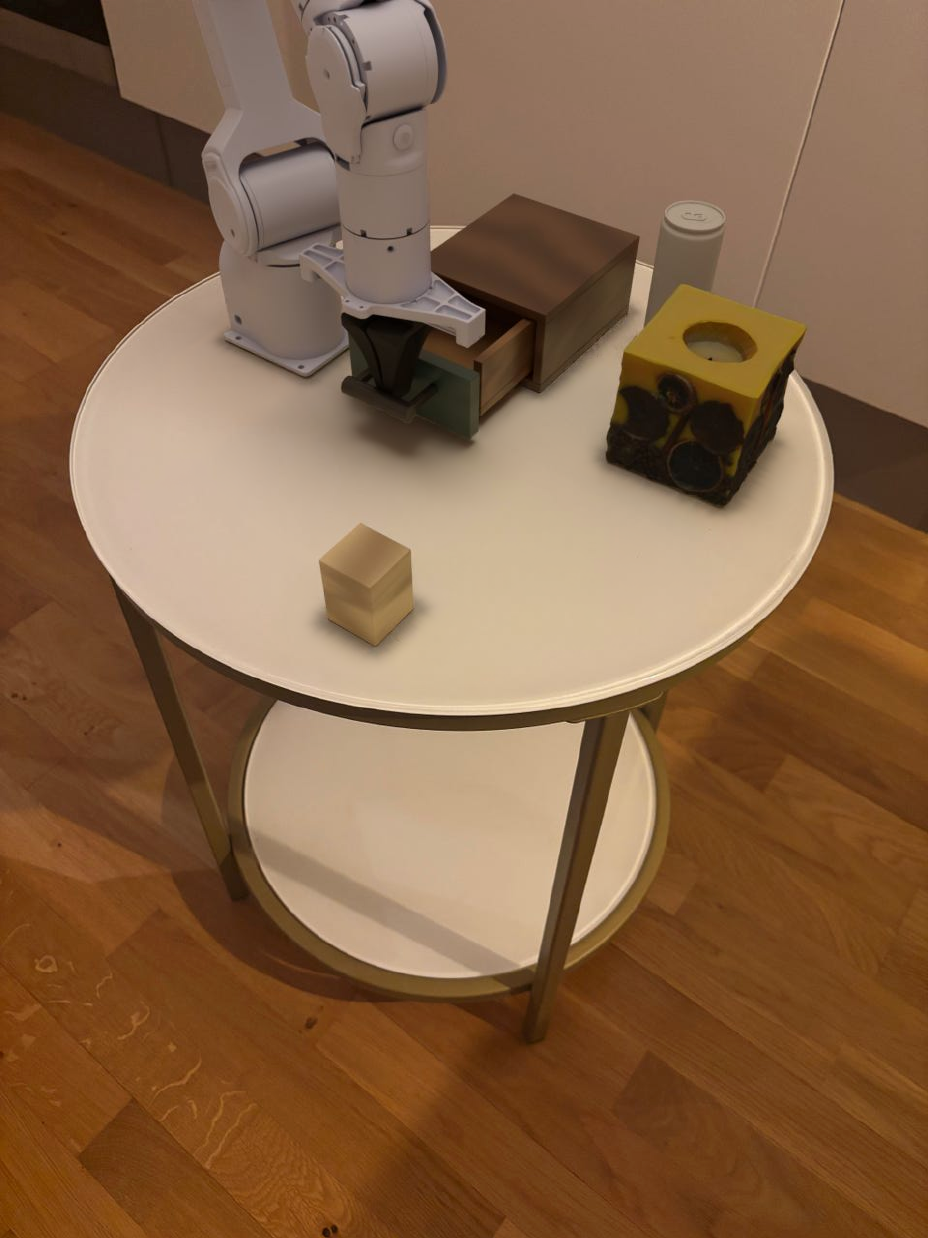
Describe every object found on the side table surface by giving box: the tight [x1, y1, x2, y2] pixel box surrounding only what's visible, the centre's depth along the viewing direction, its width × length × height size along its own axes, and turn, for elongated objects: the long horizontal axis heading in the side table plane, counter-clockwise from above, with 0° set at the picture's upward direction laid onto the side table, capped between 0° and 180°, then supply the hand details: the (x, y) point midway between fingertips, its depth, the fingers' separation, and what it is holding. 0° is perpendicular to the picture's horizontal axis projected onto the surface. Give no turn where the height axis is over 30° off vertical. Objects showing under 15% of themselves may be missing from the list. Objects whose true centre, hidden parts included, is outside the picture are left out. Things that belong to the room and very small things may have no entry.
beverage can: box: [642, 199, 727, 329], centre depth 78 cm, size 5×5×12 cm
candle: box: [605, 284, 808, 508], centre depth 70 cm, size 10×10×10 cm
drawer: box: [340, 287, 537, 440], centre depth 76 cm, size 18×11×5 cm, turn 145°
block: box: [318, 522, 415, 647], centre depth 61 cm, size 4×4×6 cm
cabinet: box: [431, 193, 641, 393], centre depth 82 cm, size 15×13×7 cm
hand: (395, 393), depth 72 cm, fingers closed, pressing on drawer
